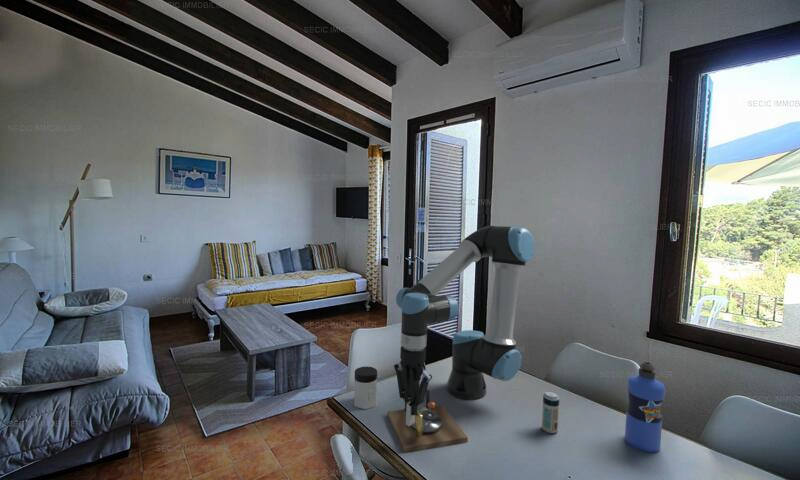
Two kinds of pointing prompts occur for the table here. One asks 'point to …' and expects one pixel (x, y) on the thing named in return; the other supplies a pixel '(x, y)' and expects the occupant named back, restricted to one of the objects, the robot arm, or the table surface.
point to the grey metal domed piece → (427, 421)
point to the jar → (365, 387)
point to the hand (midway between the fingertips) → (410, 423)
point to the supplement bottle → (550, 412)
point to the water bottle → (644, 410)
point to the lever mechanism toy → (410, 442)
